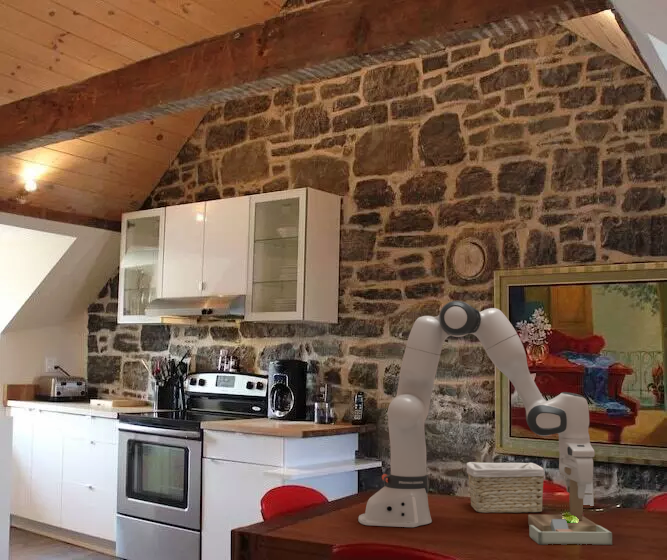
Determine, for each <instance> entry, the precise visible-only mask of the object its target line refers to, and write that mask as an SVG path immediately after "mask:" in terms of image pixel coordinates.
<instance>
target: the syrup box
mask: <svg viewBox="0 0 667 560" xmlns="http://www.w3.org/2000/svg"><path fill="white" fill-rule="evenodd" d="M594 496H595V495H594V479H593V480H592V483H591V484H586V489H585V497H584V498H583V505H590V506H594V507H595V505H594V504H595V502H594V500H595V499H594V498H595V497H594Z"/></svg>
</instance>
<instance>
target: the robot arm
mask: <svg viewBox="0 0 667 560" xmlns="http://www.w3.org/2000/svg"><path fill="white" fill-rule="evenodd" d="M467 335H473V336H475V337H477V339H478V340H479V342H480V344H481V345H482V348H483V349H484V350H485V353H486V355H487V357H488V358H489V360H490V361H491V362H492V364H493V365H494V366H495V367H496V368H497V369H498V371H499V372H501V373H502V374H503V375H504V376H505V377H506V378H508V380H509V381H510V382H511V384H512V385H513V388H514V389H515V391H516V393H517V394H518V396H519V398H520V400H521V402H522V404H523V406H524V410H525V420H526V423H527V426H528V427H529V430H530V431H531V432H532V433H534V434H536V435H538V436H542V437H546V436H547V437H549V436H551V435H558V453H559V458H558V459H559V460H558V463H559V464H558V471H559V474H560V475H561V476H562V477H564V482H565V486H566V492H567V493H568V494H570V479H571V480H573V481H575V482H577V486H578V491H577V497H578V498H584V497H585V489H586V484H591V483H592V480H593V481H594V459H593V458H594V457H596V456H595V454H596V452H595V449H594V448H593V446H592V445H591V441H590V439H591V438H590V433H589V427H590V411H589V404H588V400H587V399H586V398H585V396H583V395H581V394H577V393H574V392H573V393H572V392H567V391H563V392H561V393H560V394H558V395H556V396H554V397H553V398H550V399H548V400H546V398H545V397H544V396H543V395H542V393H541V392H540V389H539V387H538V386H537V384H536V382H535V380H534V379H533V377H532V374H531V372H530V370H529V366H528V359H527V354H526V351H525V347H524V344H523V342H522V339H521V338H520V336H519V334H518V333H517V331H516V329H515V328H514V326H513V324H512V323H511V322H510V320H509V319H508V317H507V316H506V315H505V314H504V313H503V311H502V310H500V308H495V307H490V308H485V309H484V310H482V311H479V310H478V309H476V308H474V307H473V306H472V305H470V304H469V303H467V302H465V301H461V300H451V301H449V302H447V303H445V305H443V307H441V309H440V311H439V314H438V315H437V316H432V315H423V316H419V317H417V319H416V320H415V321H414V323H413V325H412V327H411V329H410V332H409V335H408V338H407V341H406V345H405V348H404V349H405V350H404V354H403V356H402V357H403V358H402V362H401V366H400V370H399V378H398V384H397V391H396V396H395V397H394V398H393V399H392V400H391V401H390V403H389V404H388V409H387V417H388V418H387V421H388V433H389V434H388V436H389V444H390V473H388V474H387V473H383V474H382V475H381V480H382V481H383V487H382V488H380V489H379V490H378V491H377V492H375V493H374V494H373V495H372V496H370V497H369V499H368V500H367V502H366V505H365V506H366V507H365V512H364V513H362V514H359V516H358V522H359V523H360V524H361V525H365V526H377V527H397V528H398V527H399V528H401V527H402V528H403V527H404V528H417V527H419V526H424V525H428V524H431V523H432V522H433V520H432V517H431V512H430V507H429V499H428V493H429V475H428V473H427V445H426V444H427V443H426V434H425V433H426V432H425V431H426V430H425V421H427V420H426V419H427V418H428V415H429V410H430V405H431V401H432V396H433V389H434V384H435V379H436V374H437V371H438V366H439V363H440V358H441V353H442V349H443V346H444V343H445V341H446V339H447V338H453V337H454V338H461V337H465V336H467ZM565 467H568V468H570V469H571V474H570V475H568V474H567V473H565V472H564V468H565Z"/></svg>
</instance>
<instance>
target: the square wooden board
mask: <svg viewBox="0 0 667 560" xmlns="http://www.w3.org/2000/svg"><path fill="white" fill-rule="evenodd" d="M562 515H563V514H528V515H527V519H528V520H527V522H528V523H527V524H528V526H529V525H534V526H535V527H536V528H537V529H539V530H540V531H541V532H552V530H551V526H550V524H551V520H552V519H562ZM567 525H568V528H569V529H571V530H572V531H574V532H596V525H598V524H597V523H595V522H593V521H592V520H590V519H589V518H587V517H585V516H583V518H582V521H579V522H578V523H567Z"/></svg>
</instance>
